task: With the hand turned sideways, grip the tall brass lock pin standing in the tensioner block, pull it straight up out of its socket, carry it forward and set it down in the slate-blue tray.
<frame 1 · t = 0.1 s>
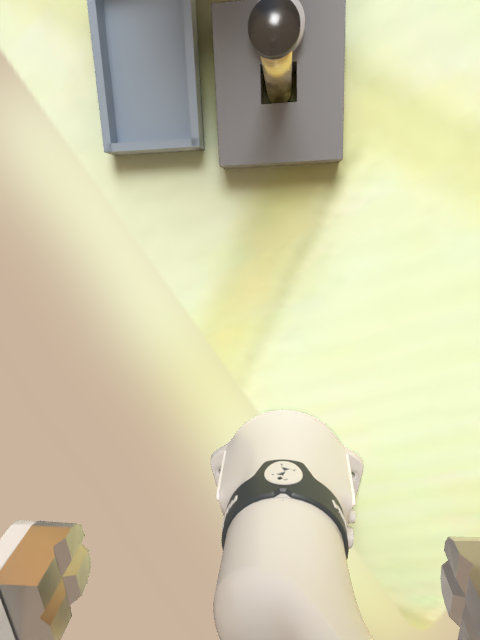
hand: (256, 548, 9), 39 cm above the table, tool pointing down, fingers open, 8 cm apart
tensioner block: (279, 91, 42), on the table
tray: (151, 69, 43), on the table
lock pin: (279, 91, 42), resting in tensioner block
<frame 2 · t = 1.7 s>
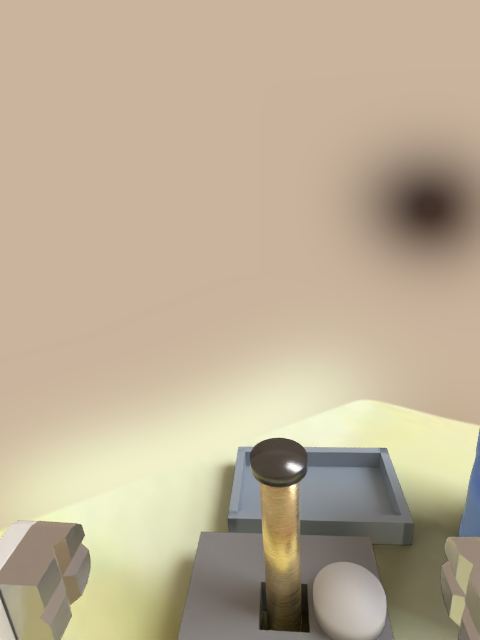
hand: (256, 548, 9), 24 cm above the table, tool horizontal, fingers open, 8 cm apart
tensioner block: (285, 634, 30), on the table
tray: (314, 499, 42), on the table
lock pin: (285, 634, 30), resting in tensioner block
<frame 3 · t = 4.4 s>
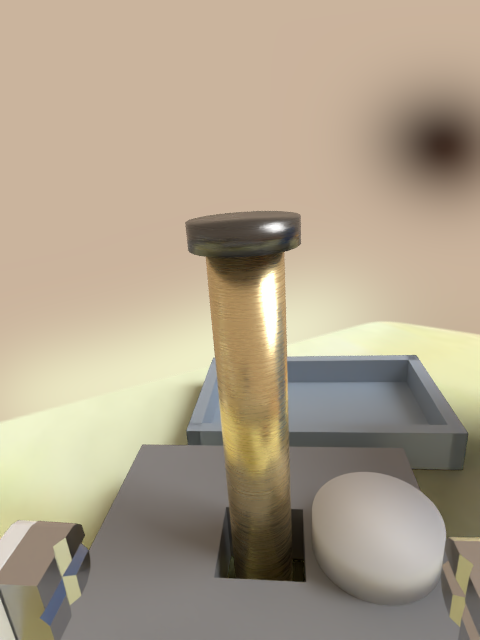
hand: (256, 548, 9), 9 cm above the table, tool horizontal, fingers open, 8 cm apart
tensioner block: (265, 592, 18), on the table
tray: (315, 419, 30), on the table
lock pin: (265, 593, 18), resting in tensioner block
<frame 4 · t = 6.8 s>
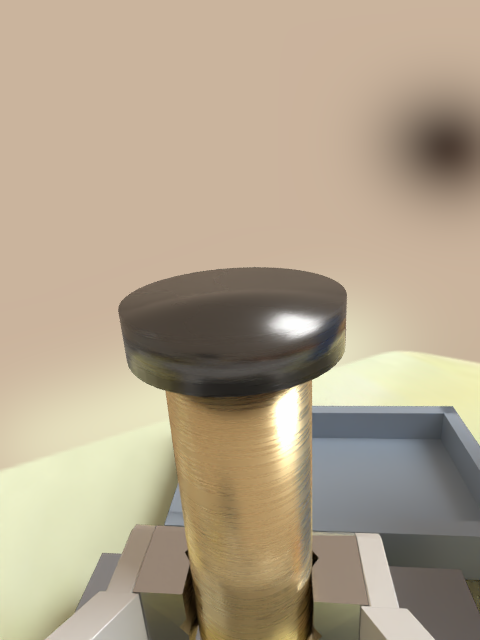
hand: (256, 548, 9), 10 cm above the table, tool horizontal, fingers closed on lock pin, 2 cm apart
tray: (331, 492, 24), on the table
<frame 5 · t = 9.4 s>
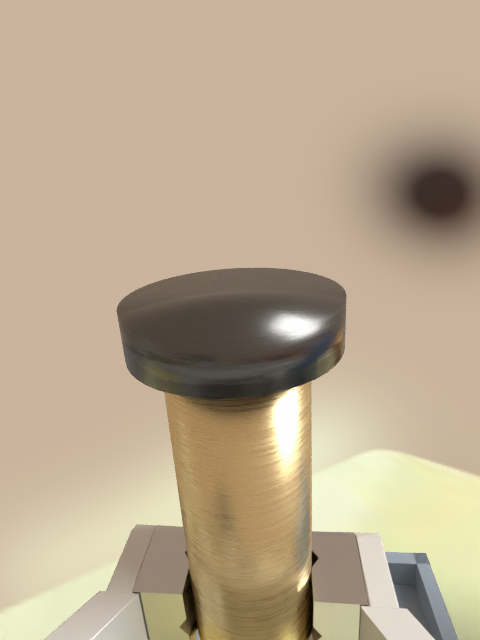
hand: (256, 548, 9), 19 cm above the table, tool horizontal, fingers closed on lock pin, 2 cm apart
when the fingers open (12 cm above the table, at t = 12.1 s): lock pin drops 1 cm, resting on tray.
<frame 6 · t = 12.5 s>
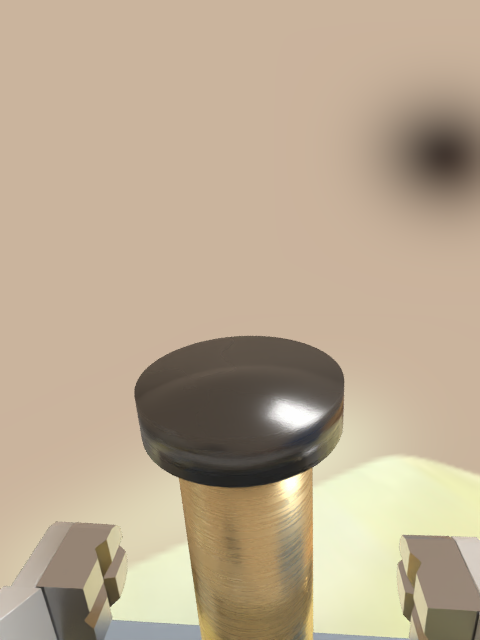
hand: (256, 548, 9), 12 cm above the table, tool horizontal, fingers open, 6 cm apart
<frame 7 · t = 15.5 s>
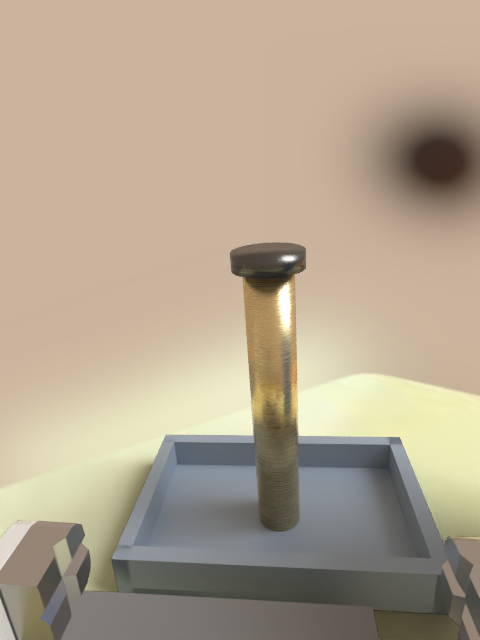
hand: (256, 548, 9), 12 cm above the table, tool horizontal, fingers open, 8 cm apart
tray: (278, 522, 25), on the table
lock pin: (279, 514, 25), point 1 cm above the table, touching tray
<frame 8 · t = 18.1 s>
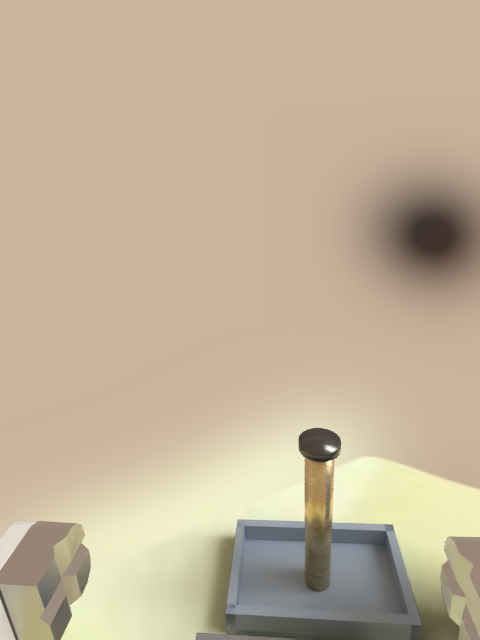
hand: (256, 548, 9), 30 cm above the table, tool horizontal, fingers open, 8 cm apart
tray: (316, 583, 40), on the table
lock pin: (317, 579, 40), point 1 cm above the table, touching tray
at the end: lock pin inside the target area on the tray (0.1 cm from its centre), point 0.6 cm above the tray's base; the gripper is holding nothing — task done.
